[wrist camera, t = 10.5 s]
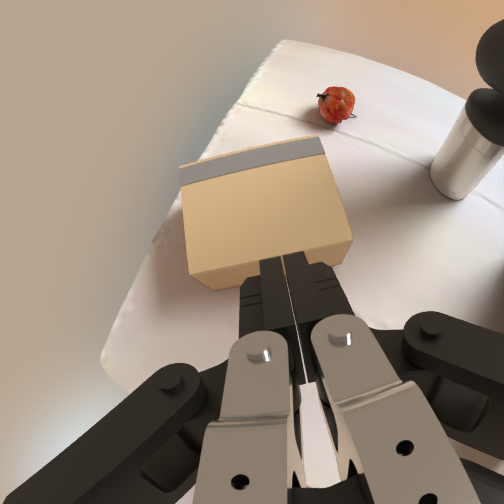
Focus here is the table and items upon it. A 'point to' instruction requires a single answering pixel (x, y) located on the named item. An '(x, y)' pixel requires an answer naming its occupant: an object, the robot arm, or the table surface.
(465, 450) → the table surface
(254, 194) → the box lid
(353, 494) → the robot arm
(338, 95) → the pomegranate
